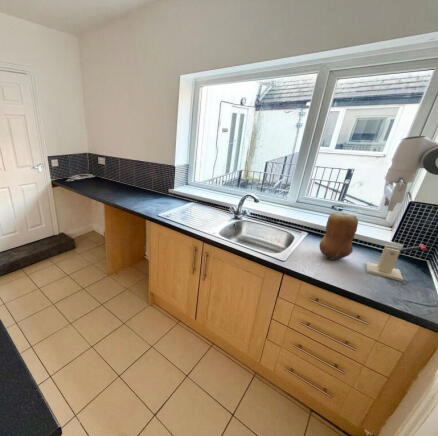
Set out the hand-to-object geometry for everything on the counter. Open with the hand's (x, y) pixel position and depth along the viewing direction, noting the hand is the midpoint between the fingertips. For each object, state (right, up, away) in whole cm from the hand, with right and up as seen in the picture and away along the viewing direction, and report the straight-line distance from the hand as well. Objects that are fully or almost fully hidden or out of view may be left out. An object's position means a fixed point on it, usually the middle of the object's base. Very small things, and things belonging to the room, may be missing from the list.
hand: (387, 208), depth 106 cm
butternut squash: (-9, -26, +21) cm, 34 cm away
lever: (+10, -20, +2) cm, 22 cm away
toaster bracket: (+6, -30, +9) cm, 32 cm away
